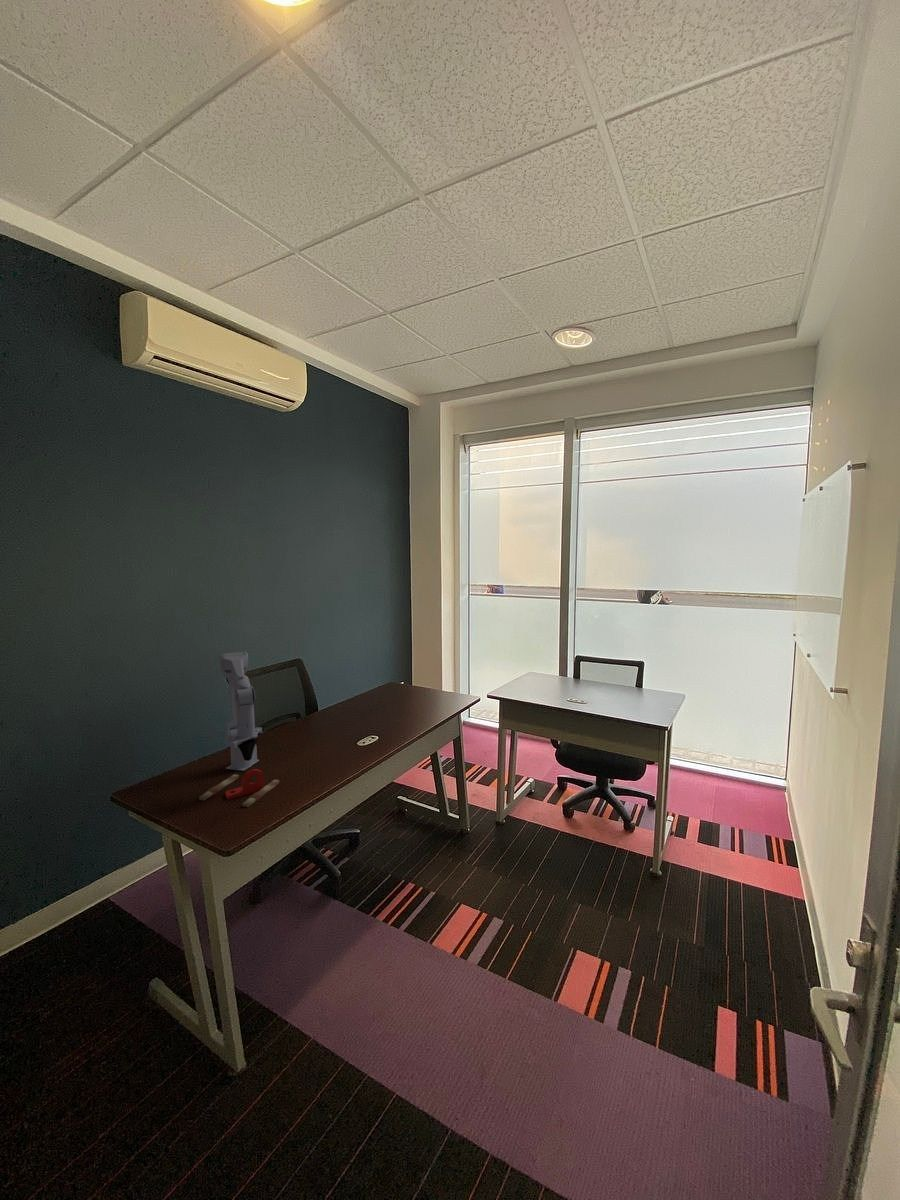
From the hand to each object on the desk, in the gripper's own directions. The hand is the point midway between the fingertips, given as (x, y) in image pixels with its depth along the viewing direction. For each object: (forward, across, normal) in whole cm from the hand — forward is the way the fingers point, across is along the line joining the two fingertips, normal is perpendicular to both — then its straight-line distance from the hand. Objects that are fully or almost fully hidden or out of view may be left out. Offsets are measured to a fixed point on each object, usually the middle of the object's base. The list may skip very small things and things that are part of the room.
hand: (247, 759), depth 172 cm
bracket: (+10, -5, -2) cm, 11 cm away
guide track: (+9, -4, 0) cm, 10 cm away
